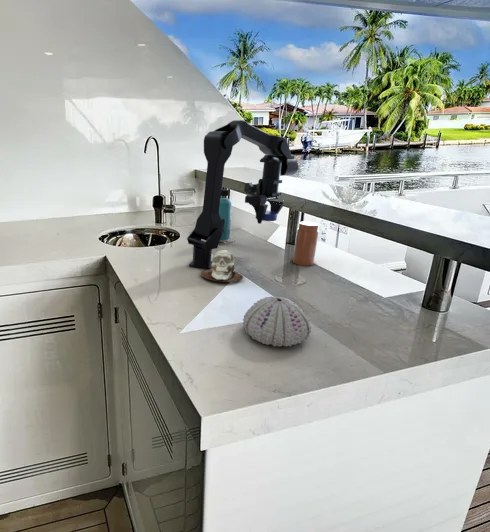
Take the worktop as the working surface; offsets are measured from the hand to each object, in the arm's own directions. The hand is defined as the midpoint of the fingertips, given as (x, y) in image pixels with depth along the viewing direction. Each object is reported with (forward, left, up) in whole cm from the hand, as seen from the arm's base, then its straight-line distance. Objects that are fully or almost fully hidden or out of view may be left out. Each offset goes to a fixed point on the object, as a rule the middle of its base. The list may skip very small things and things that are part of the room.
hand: (265, 222), depth 132 cm
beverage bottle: (+5, +16, -11) cm, 20 cm away
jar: (-8, -14, -10) cm, 19 cm away
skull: (-32, +8, -11) cm, 35 cm away
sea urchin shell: (-61, -9, -11) cm, 62 cm away
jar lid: (0, 0, +3) cm, 3 cm away
